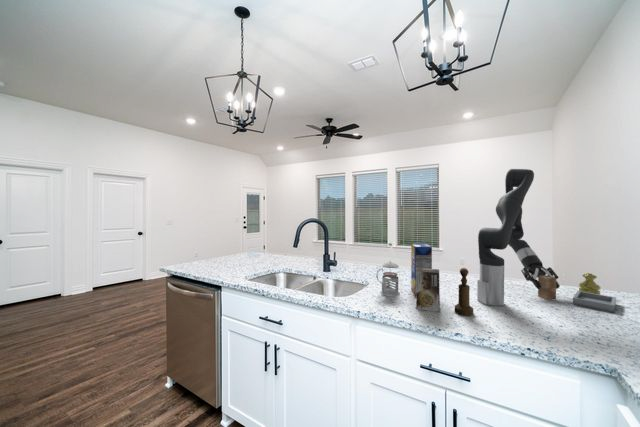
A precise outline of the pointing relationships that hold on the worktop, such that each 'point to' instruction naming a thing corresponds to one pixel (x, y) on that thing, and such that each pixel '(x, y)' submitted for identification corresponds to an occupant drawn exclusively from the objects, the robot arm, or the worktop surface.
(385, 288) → the french press
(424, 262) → the juice carton
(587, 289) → the olive green lumpy figure
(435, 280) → the coffee box
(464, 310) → the brown chess piece
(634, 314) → the worktop surface
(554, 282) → the block
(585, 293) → the parts tray
